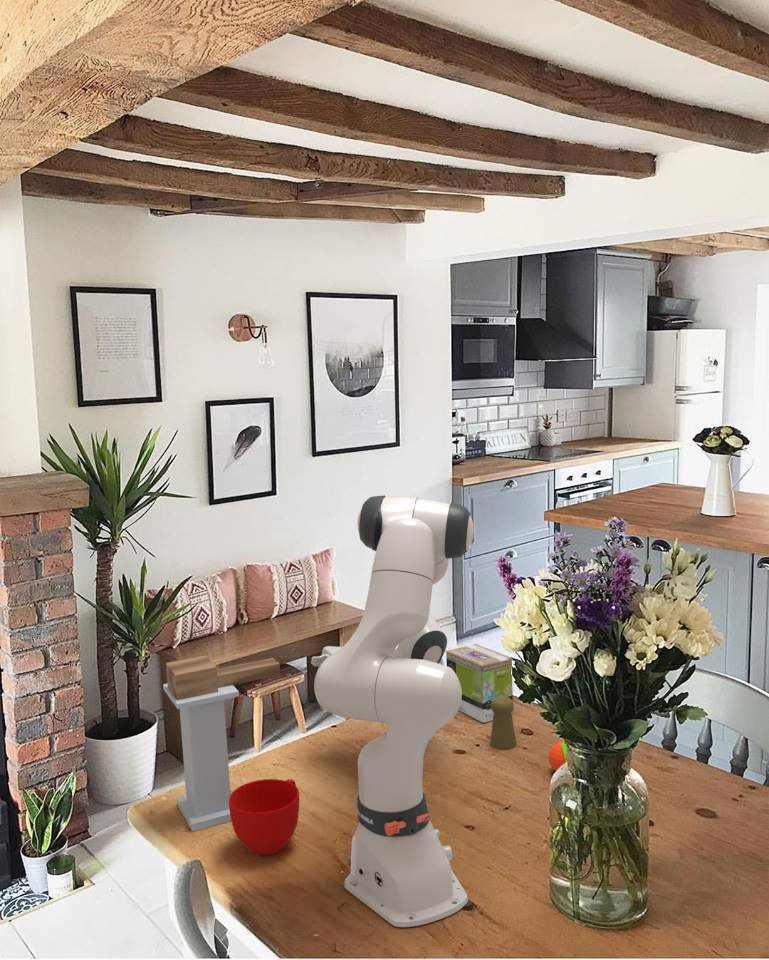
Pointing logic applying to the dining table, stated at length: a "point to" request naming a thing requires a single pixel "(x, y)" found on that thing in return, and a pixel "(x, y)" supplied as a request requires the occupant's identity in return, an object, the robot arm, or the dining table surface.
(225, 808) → the painted stand
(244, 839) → the ceramic cup
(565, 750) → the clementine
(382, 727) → the dining table surface
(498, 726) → the brown pawn
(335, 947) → the dining table surface
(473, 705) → the tea box
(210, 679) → the handled block
